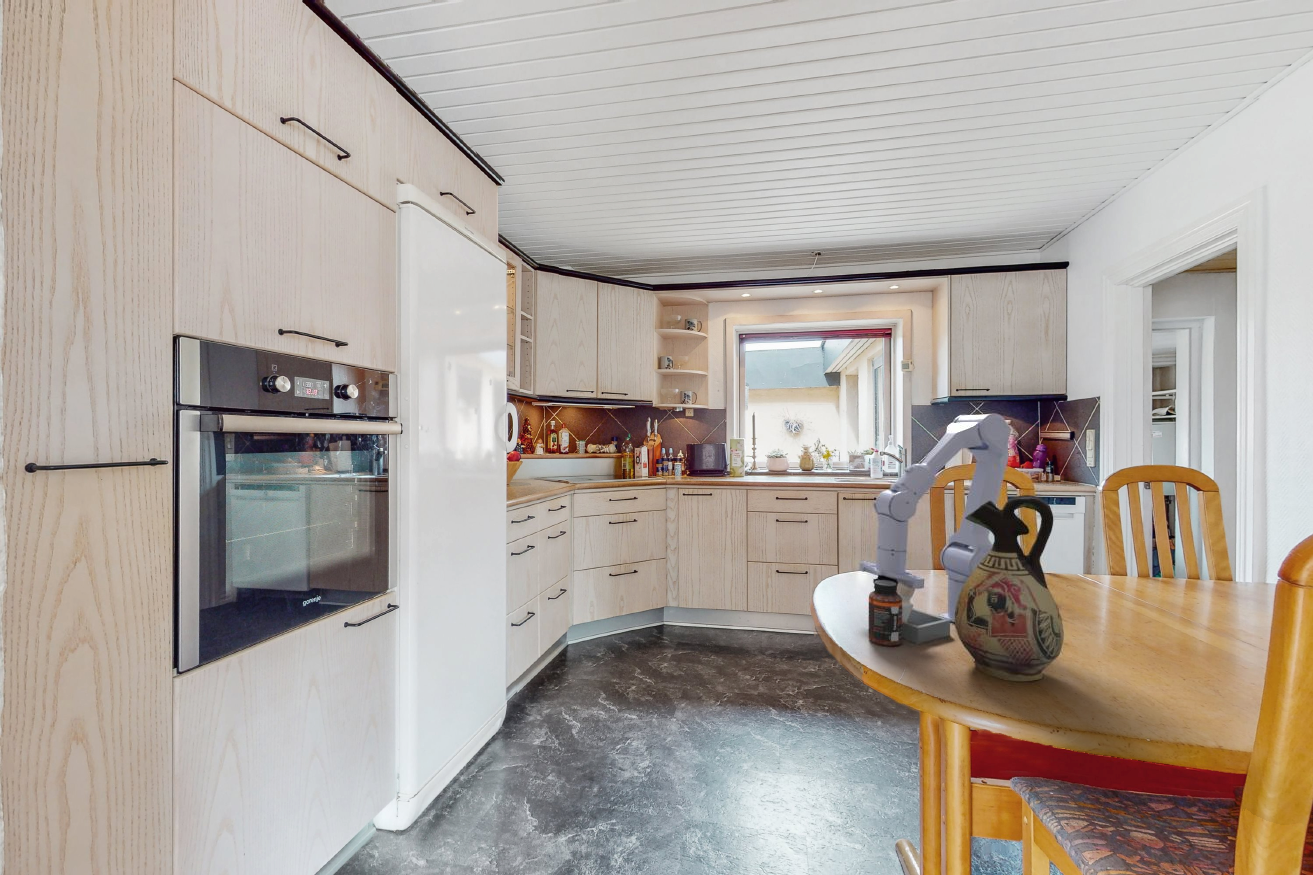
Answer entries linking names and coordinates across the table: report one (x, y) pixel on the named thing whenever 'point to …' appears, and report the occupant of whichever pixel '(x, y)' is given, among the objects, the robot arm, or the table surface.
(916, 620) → the box
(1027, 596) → the ceramic jug
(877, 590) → the supplement bottle
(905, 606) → the pepper shaker
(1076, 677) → the table surface
